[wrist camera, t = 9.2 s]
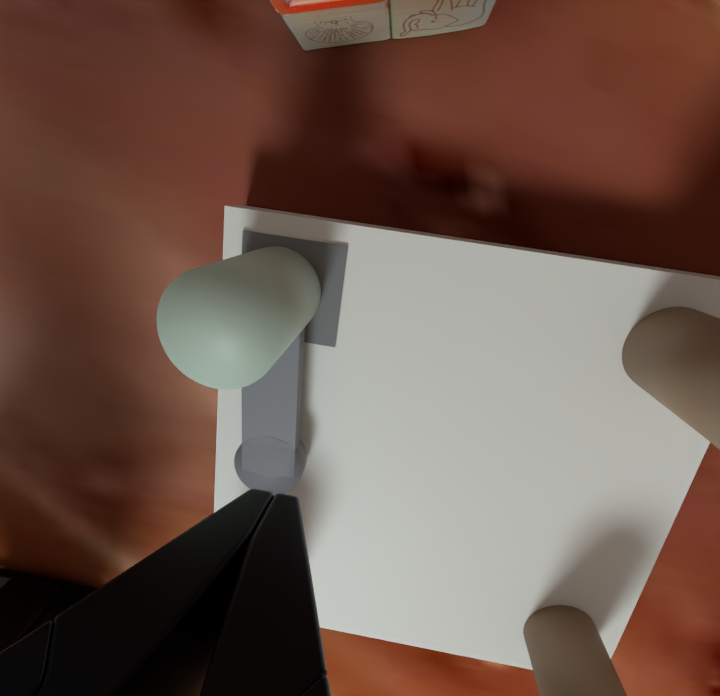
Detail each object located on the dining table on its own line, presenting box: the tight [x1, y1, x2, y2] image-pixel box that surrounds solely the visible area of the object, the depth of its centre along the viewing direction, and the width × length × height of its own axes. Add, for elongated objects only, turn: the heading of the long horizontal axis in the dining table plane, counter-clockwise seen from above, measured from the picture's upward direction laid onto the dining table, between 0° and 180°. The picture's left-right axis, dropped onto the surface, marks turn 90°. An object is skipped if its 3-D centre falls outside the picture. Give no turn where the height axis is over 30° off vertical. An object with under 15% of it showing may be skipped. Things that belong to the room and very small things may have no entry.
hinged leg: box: [157, 246, 321, 496], centre depth 14 cm, size 9×3×5 cm, turn 175°
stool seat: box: [214, 206, 720, 696], centre depth 16 cm, size 18×18×7 cm
